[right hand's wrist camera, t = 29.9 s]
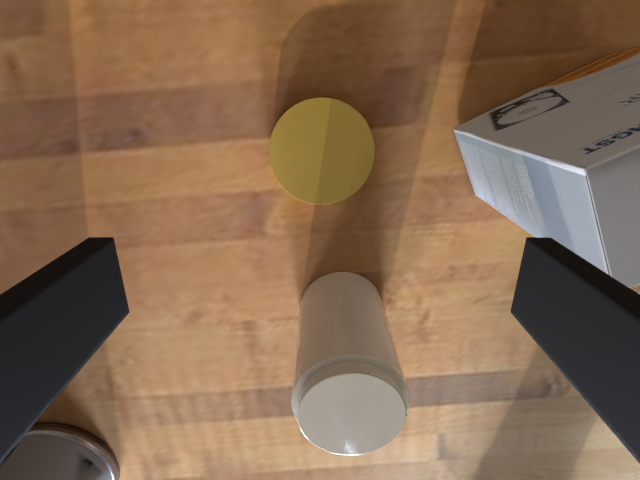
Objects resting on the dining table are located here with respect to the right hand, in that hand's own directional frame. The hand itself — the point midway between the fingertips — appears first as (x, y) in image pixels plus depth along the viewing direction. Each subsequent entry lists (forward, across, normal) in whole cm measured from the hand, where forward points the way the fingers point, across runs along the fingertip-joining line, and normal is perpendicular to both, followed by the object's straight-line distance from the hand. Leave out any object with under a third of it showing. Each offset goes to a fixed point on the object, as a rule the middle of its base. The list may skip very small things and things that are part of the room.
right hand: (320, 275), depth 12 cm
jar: (+26, +2, -17) cm, 31 cm away
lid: (+25, 0, 0) cm, 25 cm away
